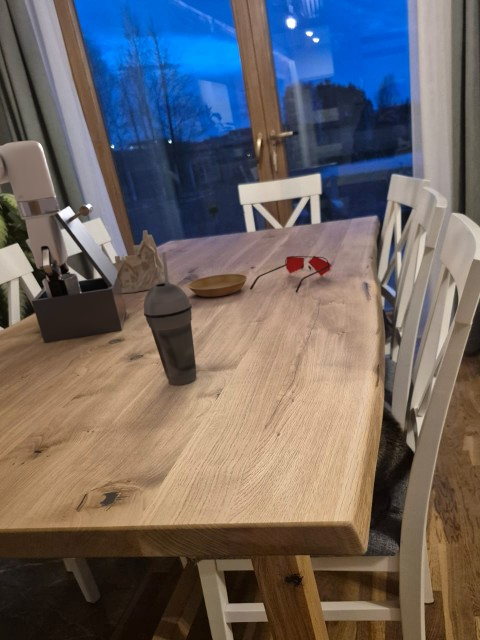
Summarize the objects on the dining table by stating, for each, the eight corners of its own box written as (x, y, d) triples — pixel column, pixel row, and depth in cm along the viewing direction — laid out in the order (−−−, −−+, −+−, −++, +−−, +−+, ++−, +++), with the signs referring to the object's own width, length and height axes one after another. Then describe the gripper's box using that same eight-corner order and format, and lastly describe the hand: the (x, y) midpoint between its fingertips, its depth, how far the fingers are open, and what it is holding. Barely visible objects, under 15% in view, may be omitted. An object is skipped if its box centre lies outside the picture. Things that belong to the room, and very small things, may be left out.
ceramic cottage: (173, 274, 167) (158, 221, 160) (165, 290, 152) (149, 233, 145) (120, 284, 167) (103, 232, 160) (107, 301, 152) (88, 244, 146)
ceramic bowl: (46, 307, 120) (39, 283, 118) (52, 299, 126) (46, 276, 124) (80, 302, 121) (73, 278, 119) (84, 294, 127) (78, 271, 125)
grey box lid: (54, 215, 110) (77, 199, 110) (65, 207, 123) (87, 194, 122) (109, 287, 118) (131, 273, 117) (115, 274, 130) (135, 261, 130)
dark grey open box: (44, 343, 119) (31, 301, 116) (56, 324, 132) (44, 285, 128) (122, 330, 122) (111, 288, 118) (126, 313, 134) (117, 275, 130)
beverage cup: (156, 377, 95) (128, 254, 86) (200, 367, 97) (176, 246, 88) (163, 392, 89) (133, 262, 80) (209, 381, 91) (184, 253, 82)
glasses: (333, 275, 145) (331, 255, 143) (297, 293, 133) (294, 271, 131) (288, 273, 153) (285, 254, 151) (249, 290, 141) (246, 269, 139)
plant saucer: (212, 282, 153) (211, 273, 151) (259, 284, 146) (258, 273, 144) (177, 298, 141) (175, 288, 140) (226, 300, 134) (224, 289, 133)
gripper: (29, 207, 123) (53, 289, 130) (8, 216, 107) (37, 309, 115) (65, 202, 124) (87, 284, 131) (50, 210, 108) (76, 302, 116)
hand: (64, 295), depth 123 cm, fingers closed on ceramic bowl, 6 cm apart
